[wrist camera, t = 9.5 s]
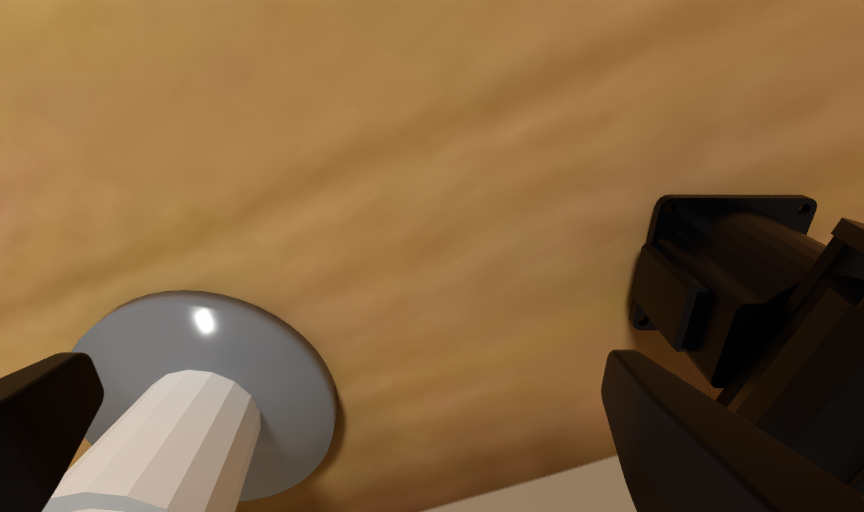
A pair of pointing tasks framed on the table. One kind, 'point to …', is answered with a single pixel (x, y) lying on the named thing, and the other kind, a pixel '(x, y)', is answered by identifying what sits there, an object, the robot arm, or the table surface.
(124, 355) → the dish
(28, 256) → the table surface
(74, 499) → the white cup
